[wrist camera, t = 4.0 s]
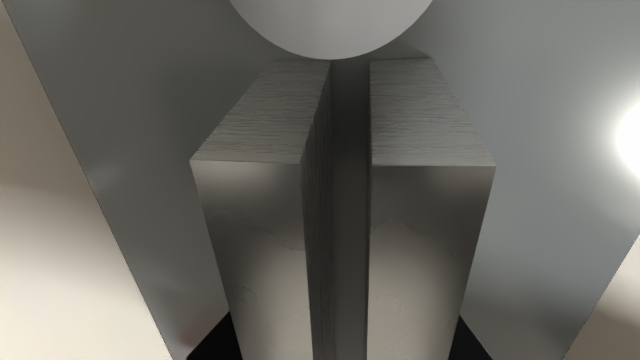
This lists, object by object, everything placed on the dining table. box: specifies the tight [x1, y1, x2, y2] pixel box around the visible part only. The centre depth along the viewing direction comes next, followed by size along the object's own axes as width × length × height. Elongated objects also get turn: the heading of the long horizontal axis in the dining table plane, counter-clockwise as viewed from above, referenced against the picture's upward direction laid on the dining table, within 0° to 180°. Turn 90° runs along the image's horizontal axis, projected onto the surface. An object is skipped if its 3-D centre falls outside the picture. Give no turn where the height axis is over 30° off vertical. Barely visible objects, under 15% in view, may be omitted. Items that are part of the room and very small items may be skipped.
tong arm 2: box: [189, 60, 335, 360], centre depth 9 cm, size 2×12×4 cm, turn 2°
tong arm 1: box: [364, 58, 497, 360], centre depth 9 cm, size 2×12×4 cm, turn 3°
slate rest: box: [2, 0, 640, 360], centre depth 8 cm, size 14×18×5 cm
